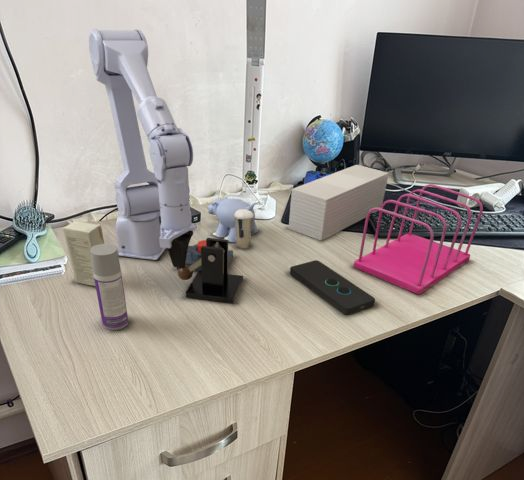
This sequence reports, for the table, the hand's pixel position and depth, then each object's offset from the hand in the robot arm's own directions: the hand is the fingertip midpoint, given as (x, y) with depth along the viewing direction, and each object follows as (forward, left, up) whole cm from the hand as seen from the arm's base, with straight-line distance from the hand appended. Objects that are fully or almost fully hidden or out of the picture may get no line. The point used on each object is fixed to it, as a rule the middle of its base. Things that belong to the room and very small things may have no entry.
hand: (179, 266), depth 101 cm
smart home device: (+32, +6, -5) cm, 33 cm away
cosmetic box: (-18, -3, -5) cm, 19 cm away
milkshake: (+10, +22, -5) cm, 25 cm away
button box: (+3, +11, -4) cm, 12 cm away
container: (-7, -17, -5) cm, 19 cm away
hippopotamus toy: (+5, +30, -5) cm, 31 cm away
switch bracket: (+8, 0, -4) cm, 9 cm away
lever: (+5, 0, 0) cm, 5 cm away
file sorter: (+51, +23, -5) cm, 56 cm away
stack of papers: (+32, +47, -5) cm, 57 cm away
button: (+3, +11, -1) cm, 11 cm away
